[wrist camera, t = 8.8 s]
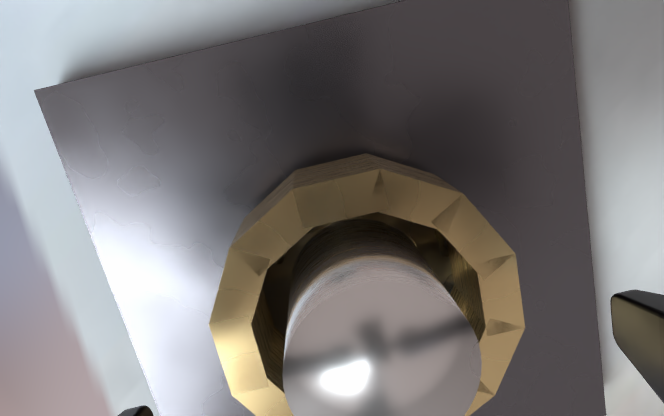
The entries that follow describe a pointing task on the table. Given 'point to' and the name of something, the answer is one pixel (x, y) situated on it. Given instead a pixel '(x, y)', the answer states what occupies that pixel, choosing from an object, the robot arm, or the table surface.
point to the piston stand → (354, 233)
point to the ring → (343, 203)
